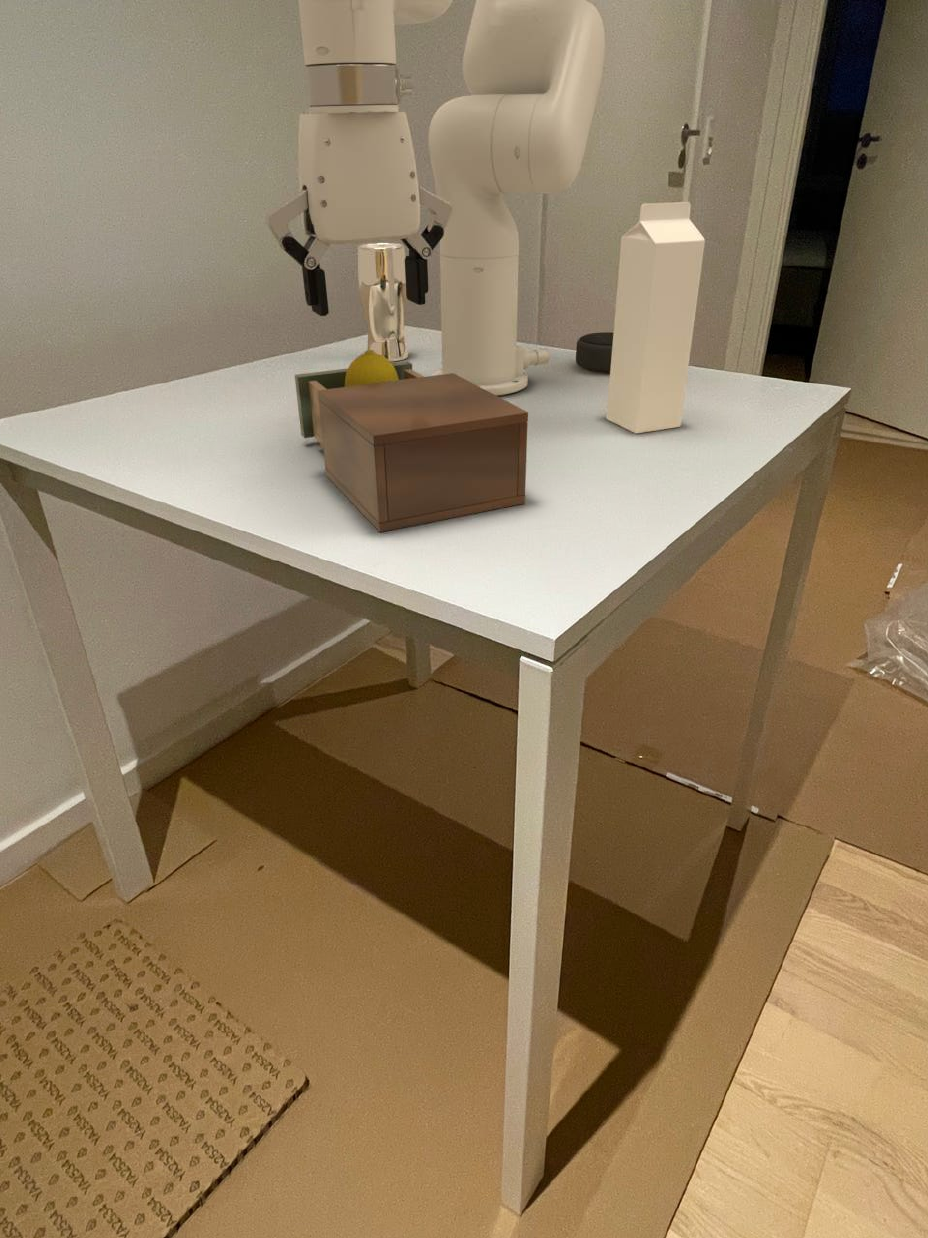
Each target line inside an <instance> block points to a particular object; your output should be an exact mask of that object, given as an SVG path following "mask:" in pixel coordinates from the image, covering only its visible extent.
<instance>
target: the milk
mask: <svg viewBox="0 0 928 1238" xmlns="http://www.w3.org/2000/svg"><path fill="white" fill-rule="evenodd" d="M639 208H640V209H639V218H638V221H637V222H636V224H634V225H633V226H632V227H631V228H630V229H629V230H628V231H626V233H624V234H623V235H622V237H621V239H620V248H619V249H620V250H619V262H618V274H617V287H616V297H615V299H616V300H615V310H614V321H613V332H612V333H613V345H612V357H611V369H610V374H609V382H608V396H607V406H606V420H608V421H610V422H612V423H613V424H616V425H617V426H619V427H621V428H623V429H626V430H627V431H629V432H632V433H633V434H642V433H650V432H654V431H662V430H668V429H673V428H674V429H675V428H680V427H681V426H682V418H683V411H684V404H685V396H686V388H687V382H688V381H687V379H688V374H689V366H690V357H691V349H692V342H693V336H694V329H695V328H694V327H695V319H696V313H697V312H696V311H697V306H698V305H697V304H698V297H699V289H700V281H701V275H702V266H703V259H704V251H705V243H706V240H705V238H704V236H703V235H702V234H701V232H700V231H699V230H698V228H697V227H696V226H695V224H694V223H693V222H692V220H691V210H692V204H691V202H689V201H678V202H677V201H676V202H656V203H655V202H654V203H653V202H652V203H642V204H641V205H640V207H639Z"/></svg>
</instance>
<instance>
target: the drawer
mask: <svg viewBox="0 0 928 1238" xmlns="http://www.w3.org/2000/svg"><path fill="white" fill-rule="evenodd" d="M391 363H392V365H393V366H394V368H395V370H396V372H397V375H398V379H399V380H404V379H412V378H420V377H425V376H424V375H422V374H421V373H419V372H417V371H415V370H414V369H413V363H412V362H410V361H397V362H391ZM348 368H349V367H348ZM348 368H339V369H331V370H324V371H314V372H305V373H297V374H294V383H295V391H296V392H295V393H296V399H297V409H298V416H299V417H298V419H299V426H300V436H302V437H303V439H310V438H314V440H316V441H317V442H318V443H319V444H320V445H321V446H322V447H323V440H322V430H321V420H320V410H319V399H318V390H325V389H333V388H341V387H345V378H346V373H347V370H348Z"/></svg>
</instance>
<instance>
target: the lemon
mask: <svg viewBox="0 0 928 1238" xmlns="http://www.w3.org/2000/svg"><path fill="white" fill-rule="evenodd" d="M392 363H393V362H390V361H389V360H388V359H386V358H385V357H383V356H381V355H379V354H376V353H375V352H374V351H373V350H367V349H366V351H365V352H364V353H362V354H361V355H359V356H357V357H356V358H355V359H353V361H352V362H351V363H349V366H348V370H347V373H346V378H345V387H349V386H356V385H364V384H372V383H380V382H388V381H396V380H399V379H398V375H397V372H396V370H395V368H394V366H393V365H392Z"/></svg>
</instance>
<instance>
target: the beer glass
mask: <svg viewBox="0 0 928 1238" xmlns="http://www.w3.org/2000/svg"><path fill="white" fill-rule="evenodd" d="M406 256H407V251H406V247H405V246H404V244H403V243H398V242H368V243H361V244H358V245H357V279H358V289H359V296H360V300H361V305H362V309H363V313H364V318H365V323H366V329H367V344H366V351H367V350H373V351H374V352H375V353H376V354H379V355H381V356H383V357H385V358H386V359H388V360H389V361H390V362H391V363H394V362H401V361H404V360H406V359H407V358H408V357H409V351H408V346H407V343H406V336H405V335H406V334H405V322H406V315H407V314H406V313H407V305H408V299H407V296H406V278H405V258H406Z"/></svg>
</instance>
